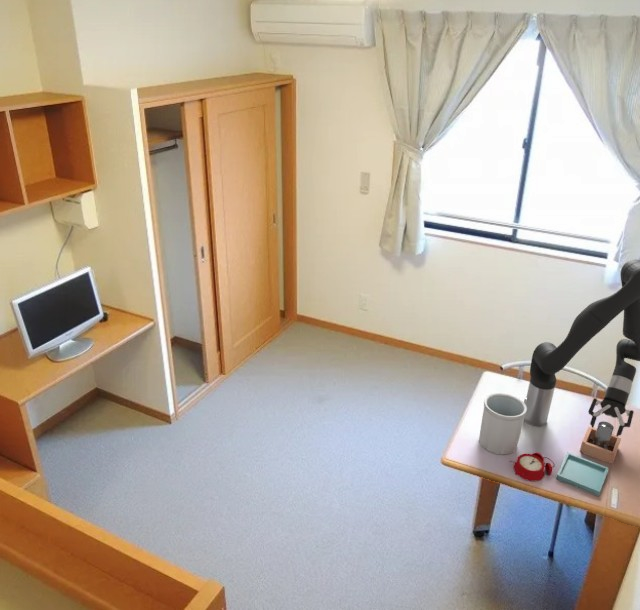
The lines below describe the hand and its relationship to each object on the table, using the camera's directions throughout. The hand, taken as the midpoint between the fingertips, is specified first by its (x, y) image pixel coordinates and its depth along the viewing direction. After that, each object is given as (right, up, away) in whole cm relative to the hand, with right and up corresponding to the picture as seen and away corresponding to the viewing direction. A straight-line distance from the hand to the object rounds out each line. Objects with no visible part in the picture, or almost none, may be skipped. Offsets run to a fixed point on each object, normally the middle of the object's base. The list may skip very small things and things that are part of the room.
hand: (604, 431), depth 214 cm
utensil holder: (-37, -6, +6) cm, 38 cm away
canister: (0, -8, +4) cm, 8 cm away
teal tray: (-12, -14, -9) cm, 20 cm away
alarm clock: (-28, -13, -6) cm, 32 cm away
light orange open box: (0, -7, +4) cm, 8 cm away
